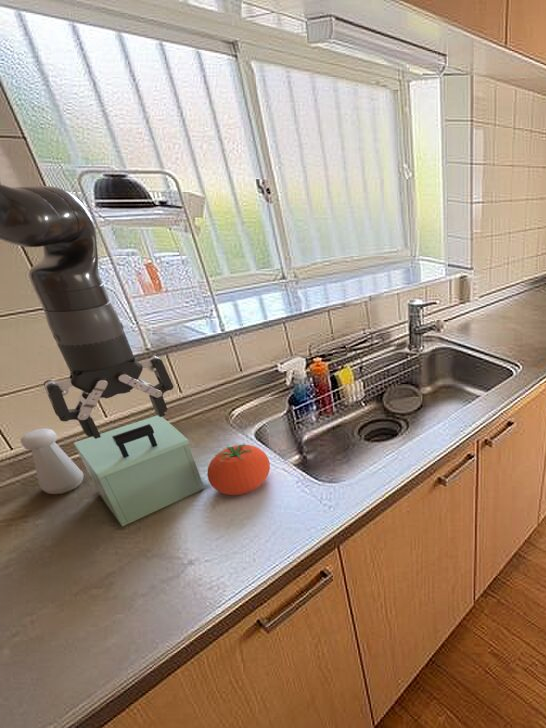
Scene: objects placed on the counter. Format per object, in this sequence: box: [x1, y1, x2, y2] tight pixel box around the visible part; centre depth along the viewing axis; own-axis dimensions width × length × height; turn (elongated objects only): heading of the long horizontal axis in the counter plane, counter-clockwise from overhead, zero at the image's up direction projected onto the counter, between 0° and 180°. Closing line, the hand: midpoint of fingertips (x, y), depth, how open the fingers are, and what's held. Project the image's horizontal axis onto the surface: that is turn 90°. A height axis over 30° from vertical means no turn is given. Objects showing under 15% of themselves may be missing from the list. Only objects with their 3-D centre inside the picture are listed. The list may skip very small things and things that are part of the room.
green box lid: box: [73, 414, 190, 478], centre depth 74 cm, size 13×13×5 cm
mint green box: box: [75, 443, 205, 527], centre depth 78 cm, size 13×13×12 cm
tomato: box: [206, 443, 271, 496], centre depth 81 cm, size 10×10×10 cm
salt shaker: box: [19, 427, 84, 495], centre depth 78 cm, size 6×6×13 cm
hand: (129, 425), depth 70 cm, fingers open, 8 cm apart
